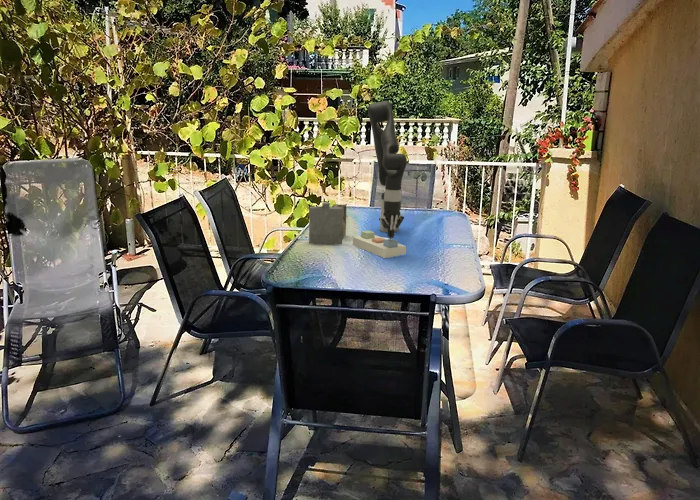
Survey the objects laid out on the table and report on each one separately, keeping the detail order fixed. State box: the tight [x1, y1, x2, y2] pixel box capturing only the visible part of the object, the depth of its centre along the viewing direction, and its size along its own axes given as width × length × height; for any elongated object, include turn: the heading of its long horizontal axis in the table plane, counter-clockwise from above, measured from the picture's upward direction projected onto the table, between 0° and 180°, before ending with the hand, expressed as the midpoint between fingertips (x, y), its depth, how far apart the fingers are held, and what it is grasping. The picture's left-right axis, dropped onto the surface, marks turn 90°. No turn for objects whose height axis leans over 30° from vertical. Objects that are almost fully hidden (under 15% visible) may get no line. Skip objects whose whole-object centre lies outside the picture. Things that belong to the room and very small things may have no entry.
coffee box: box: [331, 203, 347, 240], centre depth 269 cm, size 9×6×16 cm
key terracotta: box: [372, 237, 386, 243], centre depth 249 cm, size 5×5×3 cm
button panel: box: [352, 234, 407, 259], centre depth 249 cm, size 12×26×4 cm, turn 33°
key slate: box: [383, 238, 399, 248], centre depth 241 cm, size 5×5×3 cm
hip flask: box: [308, 201, 343, 245], centre depth 256 cm, size 16×4×20 cm, turn 92°
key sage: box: [360, 230, 376, 239], centre depth 256 cm, size 5×5×3 cm
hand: (390, 237), depth 240 cm, fingers closed
